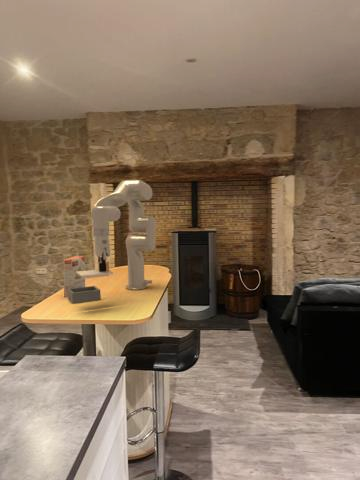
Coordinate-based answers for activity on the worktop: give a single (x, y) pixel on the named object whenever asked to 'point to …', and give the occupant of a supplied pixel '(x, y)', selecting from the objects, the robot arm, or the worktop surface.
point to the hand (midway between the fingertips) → (102, 271)
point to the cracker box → (73, 273)
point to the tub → (84, 294)
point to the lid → (95, 272)
